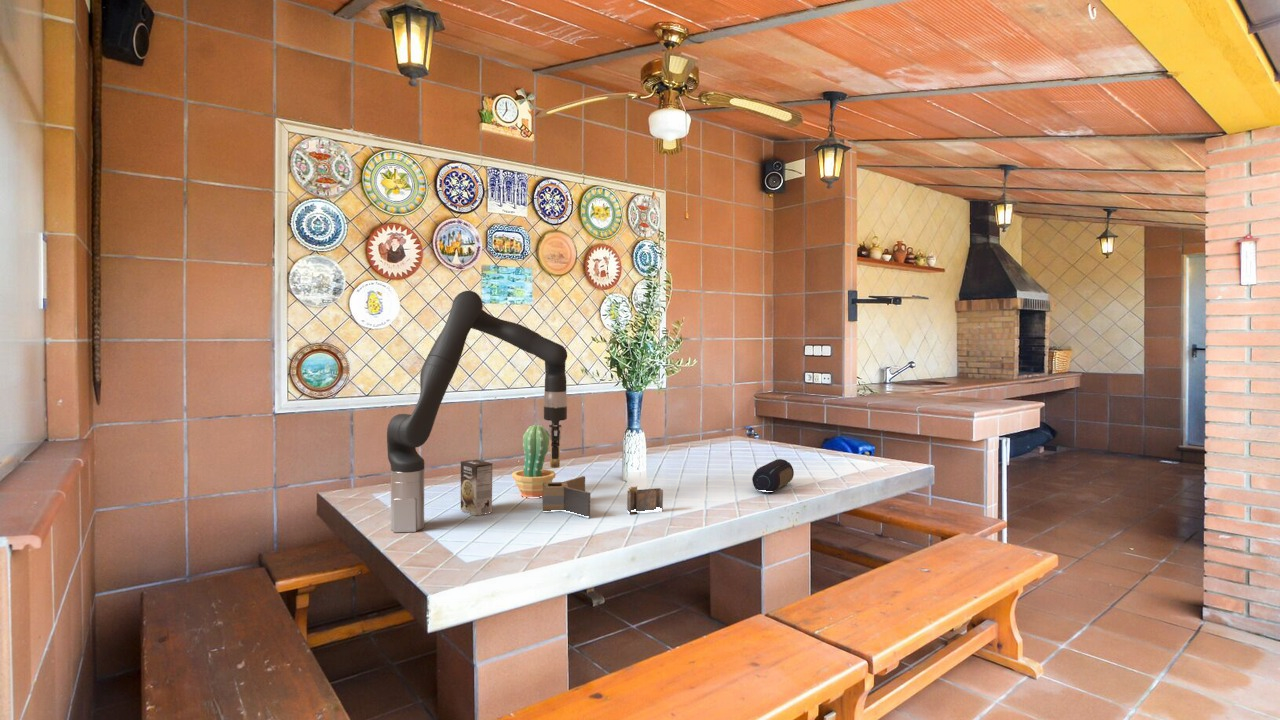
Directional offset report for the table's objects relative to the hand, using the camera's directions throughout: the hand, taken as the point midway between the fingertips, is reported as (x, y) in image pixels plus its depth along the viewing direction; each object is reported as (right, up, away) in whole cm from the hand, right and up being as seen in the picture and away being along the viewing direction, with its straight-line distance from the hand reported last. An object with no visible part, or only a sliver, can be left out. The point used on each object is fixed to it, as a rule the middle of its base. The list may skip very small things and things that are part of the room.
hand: (555, 457), depth 215 cm
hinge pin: (0, -3, 0) cm, 3 cm away
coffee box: (-25, -17, -4) cm, 30 cm away
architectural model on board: (+29, -18, -2) cm, 35 cm away
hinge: (+3, -17, +1) cm, 17 cm away
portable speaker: (+78, -17, +34) cm, 87 cm away
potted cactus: (-10, -16, +18) cm, 26 cm away
